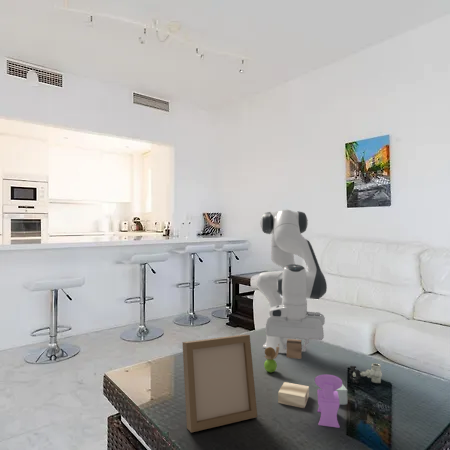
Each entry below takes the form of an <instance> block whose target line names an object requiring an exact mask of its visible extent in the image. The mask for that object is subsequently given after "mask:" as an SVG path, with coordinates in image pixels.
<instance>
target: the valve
mask: <svg viewBox="0 0 450 450" xmlns="http://www.w3.org/2000/svg"><path fill="white" fill-rule="evenodd" d="M349 369H350V370H348V373H349V374H350V375H349V379H351V380H352V383H353V384H359V383H360V381H359V380H361V377H367V378H368V379H371V382H372V383H375V384H381V383H382V382H381V381H382V376H383V373H382V364H380V363H375V362H373V363H371V369H366V370H365V371H359V369H357V366H356V365H350V367H349Z"/></svg>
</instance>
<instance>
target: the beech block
mask: <svg viewBox="0 0 450 450" xmlns="http://www.w3.org/2000/svg"><path fill="white" fill-rule="evenodd" d="M277 394H278V395H277V400H278V401H277V403H278V404H281V405H287V406H292V407H296V408H301V409H305V407H306V405H307V402H308V400H309V398H310V386H308V385H303V384H297V383H291V382H288V381H283V384H282V385H281V386H280V388H279V390H278V392H277Z"/></svg>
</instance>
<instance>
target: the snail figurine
mask: <svg viewBox="0 0 450 450" xmlns="http://www.w3.org/2000/svg"><path fill="white" fill-rule="evenodd" d="M278 345H279V344H278ZM278 352H279V347H276V352H275V350H274V349H273V348H272V347H267V348H264V358H265V359H266V360H265V361H264V363H263V368H264V369H265V370H266V372H267V373H273V372H275V371H277V368H278V363H277V361H276V360H275V359H277V357H278V355H279V353H278Z"/></svg>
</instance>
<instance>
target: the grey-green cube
mask: <svg viewBox="0 0 450 450" xmlns="http://www.w3.org/2000/svg"><path fill="white" fill-rule="evenodd" d="M335 391H338V397H339V405H348V389H347V388H346V386H345V385H344V384H343V383H342V386H341V387H340V388H339V389H337V390H335Z"/></svg>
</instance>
